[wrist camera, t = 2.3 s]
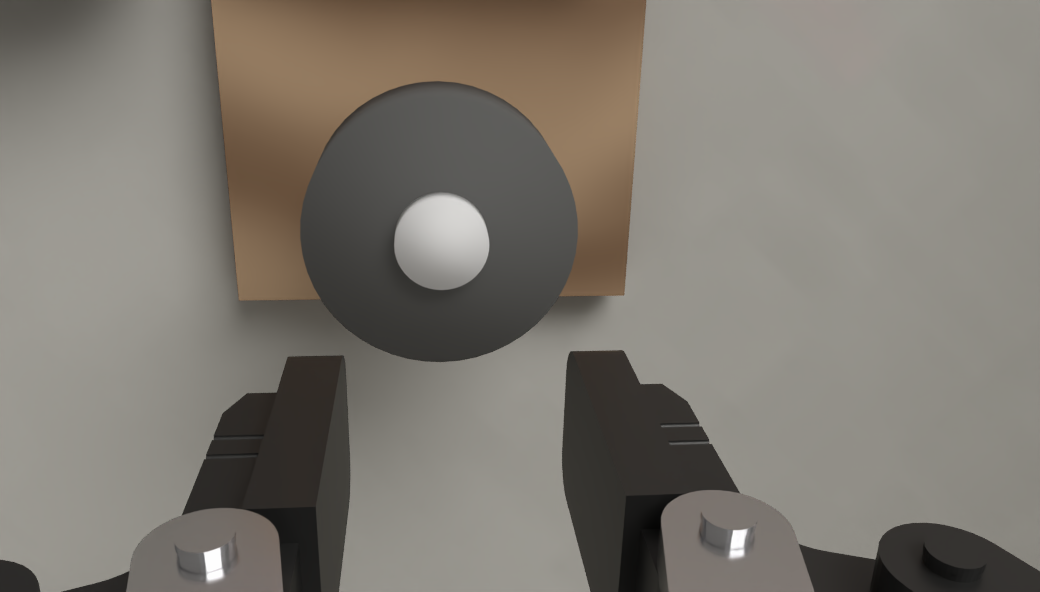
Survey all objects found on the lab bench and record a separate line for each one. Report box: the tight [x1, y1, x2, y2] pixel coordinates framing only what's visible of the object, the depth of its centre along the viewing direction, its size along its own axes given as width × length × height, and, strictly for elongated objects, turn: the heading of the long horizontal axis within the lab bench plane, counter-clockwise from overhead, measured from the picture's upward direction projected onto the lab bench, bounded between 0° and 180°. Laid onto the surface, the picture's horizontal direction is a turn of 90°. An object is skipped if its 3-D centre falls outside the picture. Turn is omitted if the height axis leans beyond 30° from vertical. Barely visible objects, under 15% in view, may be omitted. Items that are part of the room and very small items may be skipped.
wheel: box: [300, 81, 578, 362], centre depth 21 cm, size 6×6×3 cm
